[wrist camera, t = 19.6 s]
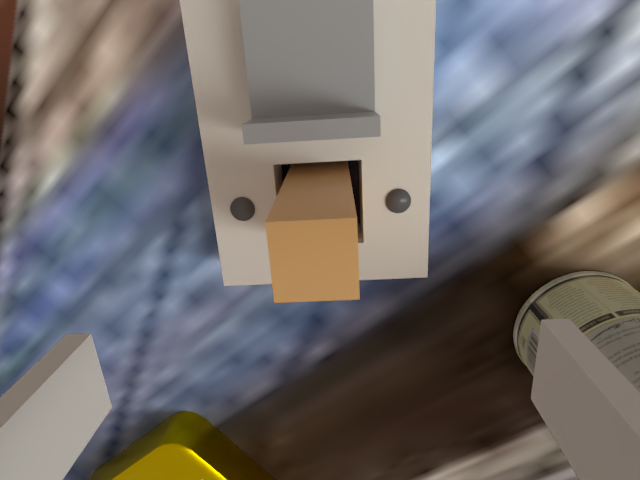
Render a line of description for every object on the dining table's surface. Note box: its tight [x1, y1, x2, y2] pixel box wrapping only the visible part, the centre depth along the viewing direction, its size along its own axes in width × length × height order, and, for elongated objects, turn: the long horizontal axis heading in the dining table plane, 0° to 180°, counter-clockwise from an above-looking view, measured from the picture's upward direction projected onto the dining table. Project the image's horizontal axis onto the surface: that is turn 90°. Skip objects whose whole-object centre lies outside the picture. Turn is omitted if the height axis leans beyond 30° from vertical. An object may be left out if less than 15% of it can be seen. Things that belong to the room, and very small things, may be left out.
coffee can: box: [513, 271, 640, 392], centre depth 29 cm, size 10×10×14 cm
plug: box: [265, 161, 360, 303], centre depth 26 cm, size 4×4×13 cm
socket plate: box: [179, 0, 436, 286], centre depth 28 cm, size 18×14×4 cm
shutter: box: [239, 0, 381, 144], centre depth 23 cm, size 7×7×4 cm
